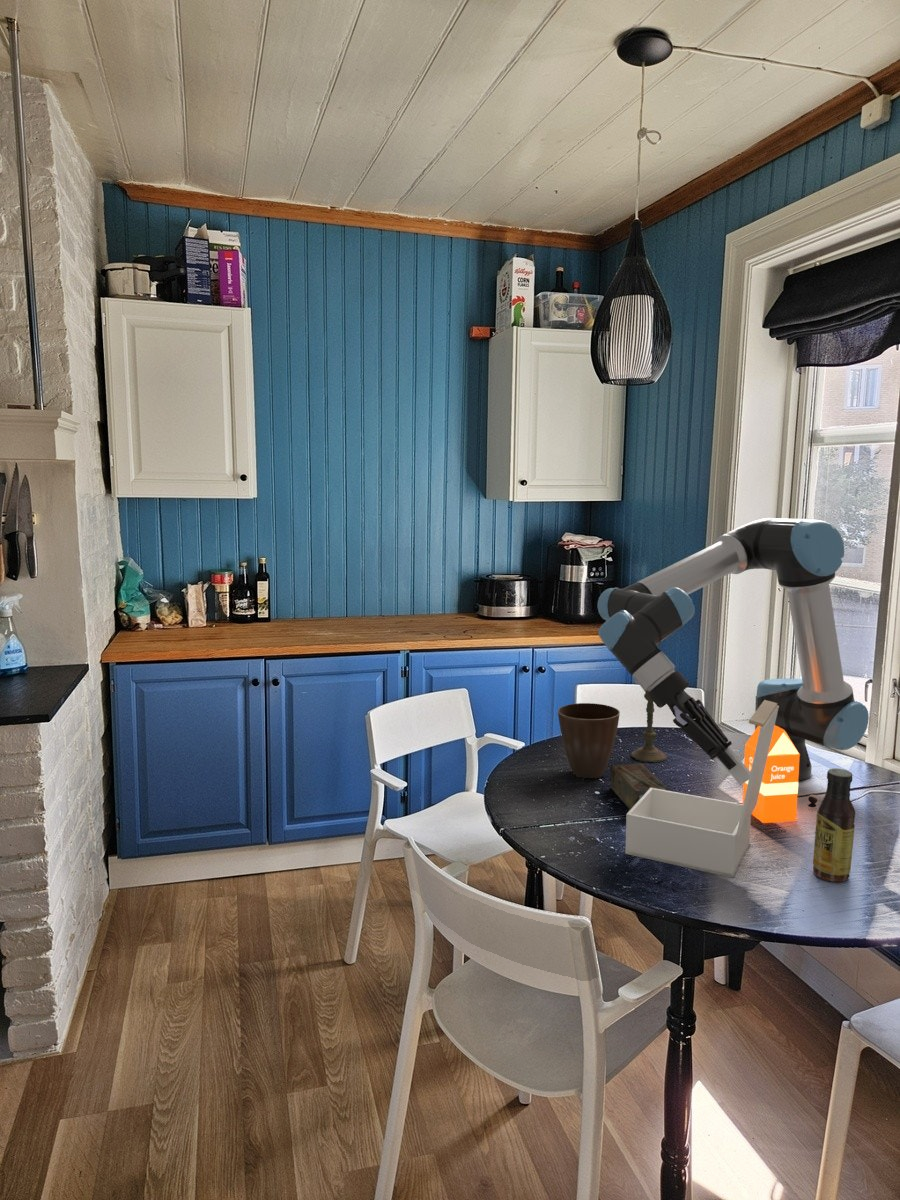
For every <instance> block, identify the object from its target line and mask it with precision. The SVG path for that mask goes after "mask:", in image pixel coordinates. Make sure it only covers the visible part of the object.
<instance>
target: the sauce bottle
mask: <svg viewBox="0 0 900 1200" xmlns="http://www.w3.org/2000/svg"><path fill="white" fill-rule="evenodd" d="M826 779H827V784H826V791H825V792H826V793H825V794H824V796H823V798H822V801H821V803H820V805H819V807H818V809H817V811H816V819H815V821H816V822H815V831H814V834H815V835H814V844H813V845H814V846H813V847H814V848H813V857H812V866H813V867H812V868H813V869H812V870H813V873H814V875H816V877H818V878H820V879H823V881H827V882H834V883H842V882H846V881H848V880H849V878H850V873H851V870H852V869H851V867H852V859H853V849H854V848H853V846H854V837H855V836H854V835H855V819H856V818H855V817H856V810H855V807H854V805H853V803H852V801H851V799H850V797H851V786H852V785H851V784H852V782H853V773H852V772H851V771H849V770H847V769H843V768H839V767H838V768H834V767H833V768H830V769H828V771H827V773H826Z"/></svg>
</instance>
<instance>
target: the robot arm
mask: <svg viewBox="0 0 900 1200" xmlns="http://www.w3.org/2000/svg"><path fill="white" fill-rule="evenodd" d="M844 556H845V545H844V540H843V537H842V535H841V534H840V532H839V530H838V528H836V527H835V526H834V525H833V524H831V523H830V522H828V521H825V520H819V519H813V518H779V517H767V518H761V519H758V520H753V521H751V522H748V523H746V524H744V525H743V524H742V525H741V526H738V527H737V528H734V529H732V530H730V531H727V532H726V533H724V534H722V535H719V536H718V537H717V538H716V540H715V541H714V543H713V544H711V545H709V546H707V547H705V548H704V549H701V550H700V551H697V552H695V553H693V554H691V555H689V556H687V557H685V558H683V559H681V560H679V561H677V562H674V563H673V564H671V565H669V566H667V567H665V568H662V569H661V570H659V571H657V572H654V573H653V574H651V575H649V576H647V577H646V576H645V577H644V578H643V579H640V580H638V581H637V582H635V583H632V584H629V585H628V586H626V587H623V588H620V587H610V588H607V589H605V590H604V591H603V592H602V593H601V594H600V596H599V597H598V600H597V610H598V615H600V617H601V619H602V620H605V621H604V623H602V624H601V626H600V627H599V628H598V637H599V638H600V639H601V642H603V644H604V646H605V647H606V648H607V650H608V651H609V652H610V653H612V655H614V657H615V658H616V659H617V660H618V662H619V663H620V664H621V665H622V666H623V667H624V668H625V669H626V671H627V672H628V673H629V674H630V675H631V677H632V678H633V679H634V680H633V682H634V684H635V685H639V686H640V687H641V688H642V690H643V691H644V692H645V691H647V690H648V691H649V693H648V694H649V695H648V696H649V697H650V698H651V699H652V701H653V704H654V705H656V707H658V708H659V709H661V708H663V707H665V706H666V705H667V707H668V708H669V710H670V711H671V713H672V715H673V717H675V718H673V719H672V722H673V724H675V725H676V726H677V727H679V728H680V729H681V731H683V732H684V733H685V734H686V735H688V737H690V739H691V740H692V741H694V743H695V744H696V745H698V746H699V748H700V749H701V750H702V751H704V752H705V754H706V755H708V757H709V758H710V760H714V759H717V760H718V761H719V762H720V764H721V765H722V766H723V767H724V768H725V770H726V771H727V772H728V773H729V775H731V777H732V778H733V779H734V780H735V781H736V783H738V785H740V786H742V785H743V783H745V782H746V781H748V780H749V777H750V771H749V770H748V768H747V767H746V766H745V765H744V763H743V761H742V760H741V759H740V758H739V757H738V755H736V753H735V752H734V751H733V750H732V748H730V746H731V745H733V744H732V741H731V740H729V738H728V737H727V736H726V735H725V733H724V732H723V730H722V729H721V728H720V726H719V725H718V724H717V722H715V721H716V720H714V718H713V717H712V715H711V714H709V712H708V711H707V709H706V708H705V706H704V704H703V702H702V701H701V700H700V699H699V698H697V700H696V699H695V698H694V697H692V696H691V695H690V694H689V693H687V692H686V691H685V690H686V689H687V688H688V687H689V686H690V682H689V681H688V680H687V679H686V677H685V676H684V675H683V674H682V672H680V670H675V668H676V666H675V664H674V663H673V662H672V661H671V660H670V659H669V658H668V656H667V655H666V654H665V653H664V652H663V651H662V650H661V649H660V647H659V646H658V645H659V644H660V643H661V642H663V641H664V640H666V639H667V638H668V637H670V636H671V635H673V633H675V632H677V631H678V630H679V629H681V628H683V627H684V626H685V624H687V623H688V621H690V620H691V619H692V618H694V615H695V614H696V613H695V612H696V608H695V605H694V603H693V600H692V598H691V597H690V596H689V595H690V594H692V593H694V592H696V591H698V590H700V589H702V588H704V587H706V586H708V585H710V584H712V583H713V582H716V581H718V580H720V579H721V578H723V577H726V576H728V575H730V574H732V575H740V574H742V573H744V572H745V571H749V570H756V569H757V570H758V569H761V570H762V569H763V570H770V571H772V570H773V571H776V577H777V583H778V585H779V586H780V587H782V588H783V589H785V590H786V591H787V597H788V603H789V610H790V616H791V622H792V626H793V635H794V638H795V646H796V651H797V658H798V664H799V668H800V669H799V670H800V675H801V678H770V679H765V680H762V681H760V682H759V683H758V685H757V687H756V696H755V709H754V710H755V711H754V713H755V712H756V710H757V709H758V708H759V706H760V705H761V704H762V702H763V701H764V700H767V701H771V702H775V703H778V704H777V706H779V708H778V712H777V717H776V721H775V725H776V726H778V727H780V728H781V729H783V730H785V732H786V733H787V735H788V737H789V738H790V740H791V741H792V743H793V744H794V746H795V748H796V749H797V751H798V752H799V754H800V757H799V776H798V782H799V781H803V780H807V779H808V778H810V777H811V776H812V769H813V767H812V763H811V758H810V755H809V753H808V749H807V745H806V741H809V742H812V743H815V744H818V745H821V746H824V747H825V748H827V749H833V750H836V751H847V750H850V749H852V748H853V747H855V746H856V745H858V744H859V742H860V741H861V740H862V739H863V737H864V735H865V733H866V731H867V728H868V724H869V718H870V716H869V715H870V713H869V710H868V708H867V707H866V705H864V704H863V703H862V702H861V701H856V700H855V698H854V697H855V695H854V689H853V686H852V685H851V684H849V683H848V682H846V681H844V672H843V668H842V660H841V654H840V648H839V641H838V634H837V629H836V621H835V615H834V608H833V607H834V606H833V602H832V595H831V588H830V584H831V583H832V581H833V580H834V579H835V578H836V572H837V571H838V570H839V569H840V567H841V566H842V563H843V560H842V558H845V557H844ZM757 727H758V726H757V725H754V731H755V730H756V728H757Z"/></svg>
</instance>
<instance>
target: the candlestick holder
mask: <svg viewBox="0 0 900 1200" xmlns="http://www.w3.org/2000/svg"><path fill="white" fill-rule="evenodd" d="M644 692H645V693H644V695H643V697H644V699H645V700H646V701H647V703H646V708H645V711H646V728H645V730H644V731H643V732H642V738H643V739H644V740H645V744H644V745H643V746H640V747H639V748H637V749H635V750H633V751H631V753H630V756H631V758H632V757H633V758H635V759H637V760H636V761H638V760H640V761H639V762H642V761H643V763H648V762H653V764H655V763H662V762H665V761H666V760H667V758H668V756H667V754H666V753H665V752H663V751H662V750H660V749H659V748H658V747H655V745H654V741H655V740H656V737H657V732H655V731H654V727H653V724H654V712H655V703H654V702H653V701H652V699H651V698H650V697H649V696H648V695H649V694H648V693H649V691H648V690H647V691H644ZM633 758H632V759H633ZM635 759H634V760H635Z"/></svg>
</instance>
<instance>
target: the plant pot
mask: <svg viewBox="0 0 900 1200" xmlns="http://www.w3.org/2000/svg"><path fill="white" fill-rule="evenodd" d="M620 714H621V712H620V710H619V709H618V708H616V707H614V706H611V705H608V704H601V703H591V702H589V703H587V702H585V703H584V702H581V703H580V702H579V703H569V704H565V705H563V706H560V707H559V708H558V709H557V716H558V722H559V723H558V724H559V730H560V733H561V734H560V735H561V738H562V739H561V740H562V743H563V747H564V750H565V754H566V758H567V760H568V763H569V766H570V770H571V771H572V774H573V773H574V774H575V775H576V777H577V776H578V777H577V778H580V777H582V778H581V779H586V778H590V779H589V780H591V778H592V779H593V778H594V779H598V778H601V777H603V776H604V774H605V773H606V769H607V766H608V764H609V761H610V758H611V755H612V752H613V748H614V745H615V741H616V736H617V732H618V727H619V721H620ZM574 774H573V775H574ZM575 775H574V776H575Z"/></svg>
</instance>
